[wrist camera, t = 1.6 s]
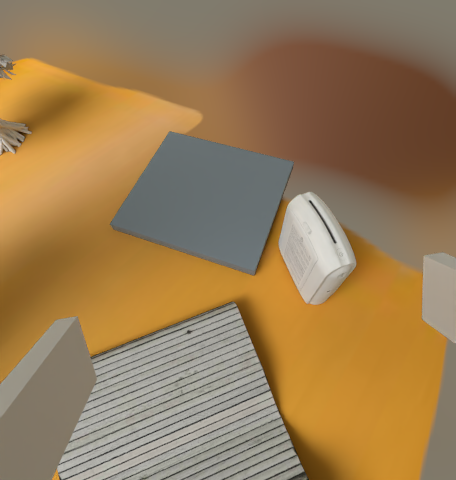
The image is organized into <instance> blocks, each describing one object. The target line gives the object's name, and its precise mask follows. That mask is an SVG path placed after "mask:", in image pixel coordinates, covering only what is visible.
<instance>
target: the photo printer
mask: <svg viewBox="0 0 456 480" xmlns="http://www.w3.org/2000/svg"><path fill="white" fill-rule="evenodd" d="M279 249H280V252H281V254H282V257H283V259H284V261H285V263H286V266H287V268H288V270H289V272H290V274H291V276H292V278H293V280H294V283H295V285H296V287H297V289H298V291H299V292H300V294H301V296H302V298H303V299H304V301H305V302H306V303H307V304H308V303H310V304H314V305H317V304H321V303H323V302H325V301H326V300H327V299H328V298H329V296H331V295H332V294H333V293H334V292H335V291H336V290H337V289H338V288H339V286H340V285H341V284H342V283H343V281H344V280H345V279H346V278H347V277H348V275H349V274H350V273H351V272H352V271H353V269H354V268H355V267H356V259H355V256H354V253H353V250H352V248H351V245H350V243H349V241H348V239H347V237H346V235H345V233H344V231H343V229H342V227H341V226H340V224H339V222H338V221H337V219H336V218H335V216H334V215H333V213H332V212H331V210H330V209H329V208H328V206H327V205H326V204H325V203H324V202H323V200H322V199H320V198H319V197H318V196H317V195H316V194H314V193H313V192H307V193H305V194H299V195H298V196H296V197H295V198H294V199H293V200H292V201H291V202H290V203H289V204H288V206H287V210H286V214H285V218H284V222H283V226H282V230H281V234H280V238H279Z"/></svg>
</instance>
